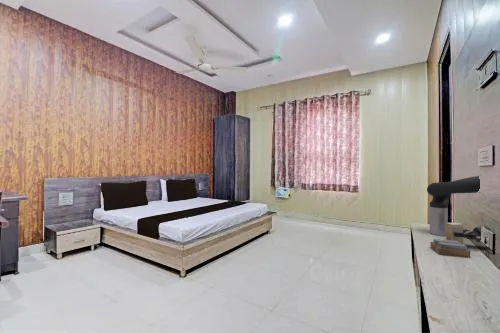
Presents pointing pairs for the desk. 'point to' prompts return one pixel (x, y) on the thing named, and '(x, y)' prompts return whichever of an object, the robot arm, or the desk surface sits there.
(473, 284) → the desk surface
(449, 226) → the skincare box
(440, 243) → the metal plate on wood
